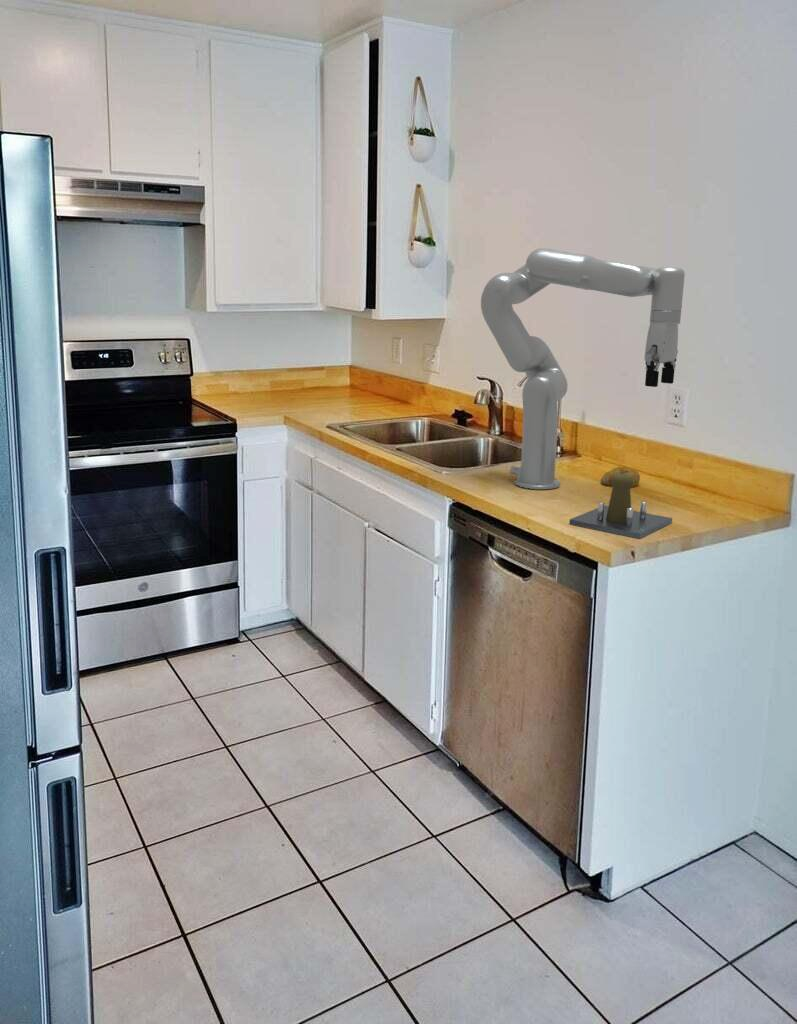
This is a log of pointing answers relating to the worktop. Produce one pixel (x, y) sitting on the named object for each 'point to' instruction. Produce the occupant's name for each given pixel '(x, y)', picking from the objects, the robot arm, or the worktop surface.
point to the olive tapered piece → (619, 498)
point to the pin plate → (633, 527)
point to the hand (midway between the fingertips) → (659, 384)
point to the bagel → (621, 470)
